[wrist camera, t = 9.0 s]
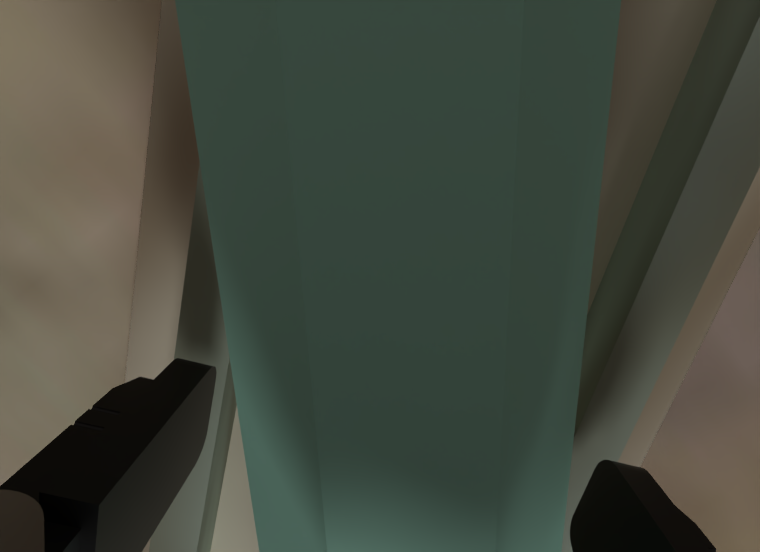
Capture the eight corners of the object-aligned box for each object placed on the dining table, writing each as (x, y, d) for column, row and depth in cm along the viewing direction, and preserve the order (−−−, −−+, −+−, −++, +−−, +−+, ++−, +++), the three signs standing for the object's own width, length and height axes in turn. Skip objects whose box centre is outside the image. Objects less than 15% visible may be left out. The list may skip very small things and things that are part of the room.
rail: (847, -45, 10) (1013, -114, 7) (498, 691, 16) (518, 794, 14) (215, -232, 9) (144, -383, 6) (119, 612, 16) (66, 704, 13)
